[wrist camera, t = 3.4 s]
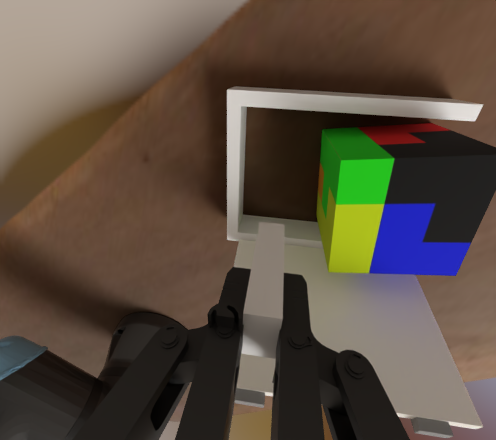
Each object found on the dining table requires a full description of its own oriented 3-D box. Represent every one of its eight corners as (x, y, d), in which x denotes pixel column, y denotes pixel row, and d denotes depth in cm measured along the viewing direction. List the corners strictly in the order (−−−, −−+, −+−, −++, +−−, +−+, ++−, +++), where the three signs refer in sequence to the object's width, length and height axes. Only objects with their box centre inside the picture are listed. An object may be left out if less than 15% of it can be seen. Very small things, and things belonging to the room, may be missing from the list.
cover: (239, 239, 28) (239, 245, 29) (205, 394, 17) (207, 398, 18) (407, 258, 26) (403, 264, 27) (489, 441, 15) (479, 443, 16)
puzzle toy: (405, 214, 29) (455, 275, 20) (316, 214, 30) (328, 272, 22) (431, 122, 24) (512, 153, 15) (322, 128, 25) (341, 160, 17)
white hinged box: (233, 221, 32) (227, 239, 29) (235, 86, 24) (227, 89, 21) (393, 238, 30) (406, 259, 27) (453, 99, 22) (483, 104, 19)
